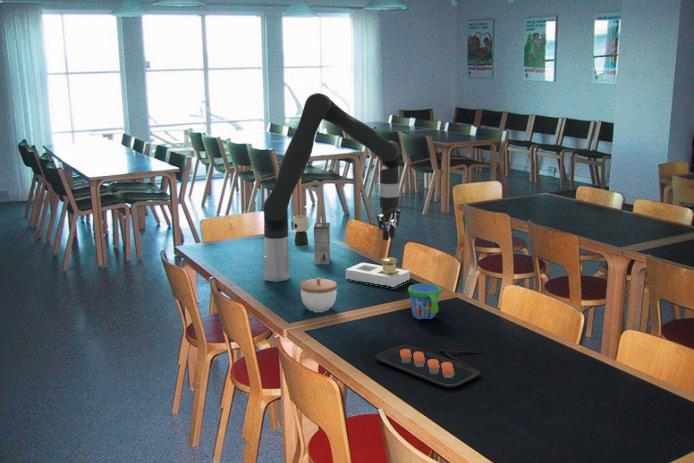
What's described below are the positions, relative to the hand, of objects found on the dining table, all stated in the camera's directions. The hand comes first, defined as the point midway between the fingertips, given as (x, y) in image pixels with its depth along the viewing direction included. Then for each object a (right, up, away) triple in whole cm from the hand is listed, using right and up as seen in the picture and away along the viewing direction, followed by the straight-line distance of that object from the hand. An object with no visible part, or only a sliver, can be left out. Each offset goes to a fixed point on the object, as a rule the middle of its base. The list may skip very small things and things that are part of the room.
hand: (388, 238), depth 277 cm
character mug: (-37, -3, +63) cm, 73 cm away
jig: (-4, -16, +7) cm, 18 cm away
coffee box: (-27, -10, +33) cm, 44 cm away
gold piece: (0, -17, +4) cm, 17 cm away
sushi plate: (+12, -35, -69) cm, 78 cm away
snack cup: (+10, -26, -34) cm, 44 cm away
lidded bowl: (-26, -24, -26) cm, 44 cm away
